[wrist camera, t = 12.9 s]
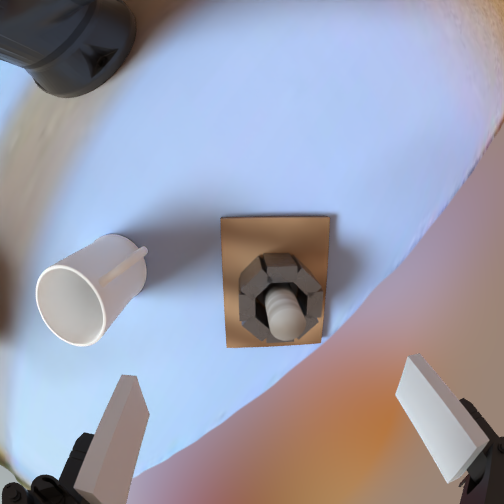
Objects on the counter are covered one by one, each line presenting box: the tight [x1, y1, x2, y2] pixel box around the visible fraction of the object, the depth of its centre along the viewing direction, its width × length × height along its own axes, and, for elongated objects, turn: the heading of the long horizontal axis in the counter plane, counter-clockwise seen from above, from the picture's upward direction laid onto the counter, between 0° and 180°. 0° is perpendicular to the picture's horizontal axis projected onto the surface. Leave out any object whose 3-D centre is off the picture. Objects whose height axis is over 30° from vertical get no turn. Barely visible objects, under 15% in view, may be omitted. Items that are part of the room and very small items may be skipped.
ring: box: [239, 253, 323, 343], centre depth 31 cm, size 8×8×5 cm
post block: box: [221, 216, 330, 348], centre depth 30 cm, size 16×12×10 cm
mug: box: [36, 234, 148, 346], centre depth 28 cm, size 12×8×12 cm
